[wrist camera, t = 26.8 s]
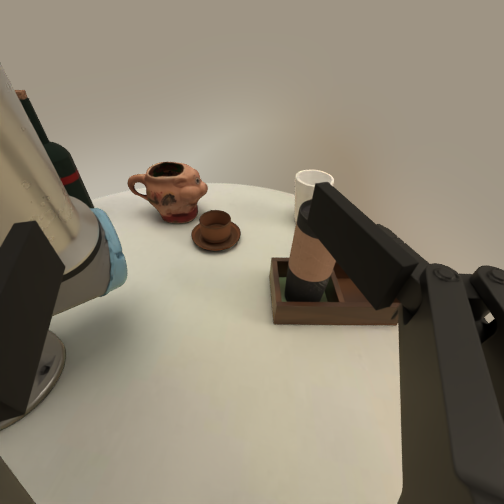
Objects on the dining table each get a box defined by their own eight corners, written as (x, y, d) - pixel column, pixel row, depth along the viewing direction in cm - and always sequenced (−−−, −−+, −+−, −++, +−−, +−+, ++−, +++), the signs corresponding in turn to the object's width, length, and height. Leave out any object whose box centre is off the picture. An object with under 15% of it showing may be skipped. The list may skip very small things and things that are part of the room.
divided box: (269, 276, 56) (271, 257, 52) (373, 277, 57) (382, 259, 53) (273, 324, 47) (276, 306, 44) (396, 325, 48) (409, 307, 44)
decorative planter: (131, 230, 66) (113, 180, 57) (141, 204, 75) (127, 158, 66) (209, 227, 68) (205, 178, 59) (210, 202, 77) (206, 157, 68)
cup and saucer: (184, 235, 66) (180, 214, 62) (224, 219, 71) (223, 200, 67) (207, 262, 59) (205, 241, 55) (249, 242, 64) (250, 222, 60)
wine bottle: (56, 238, 63) (-30, 98, 43) (73, 215, 70) (7, 86, 50) (90, 237, 64) (21, 99, 43) (103, 214, 71) (50, 87, 51)
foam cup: (324, 233, 68) (336, 188, 60) (289, 230, 69) (296, 185, 60) (320, 213, 75) (331, 170, 67) (288, 210, 76) (295, 168, 67)
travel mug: (310, 278, 55) (334, 195, 42) (328, 307, 50) (362, 222, 36) (277, 285, 53) (290, 201, 40) (292, 316, 48) (313, 230, 34)
